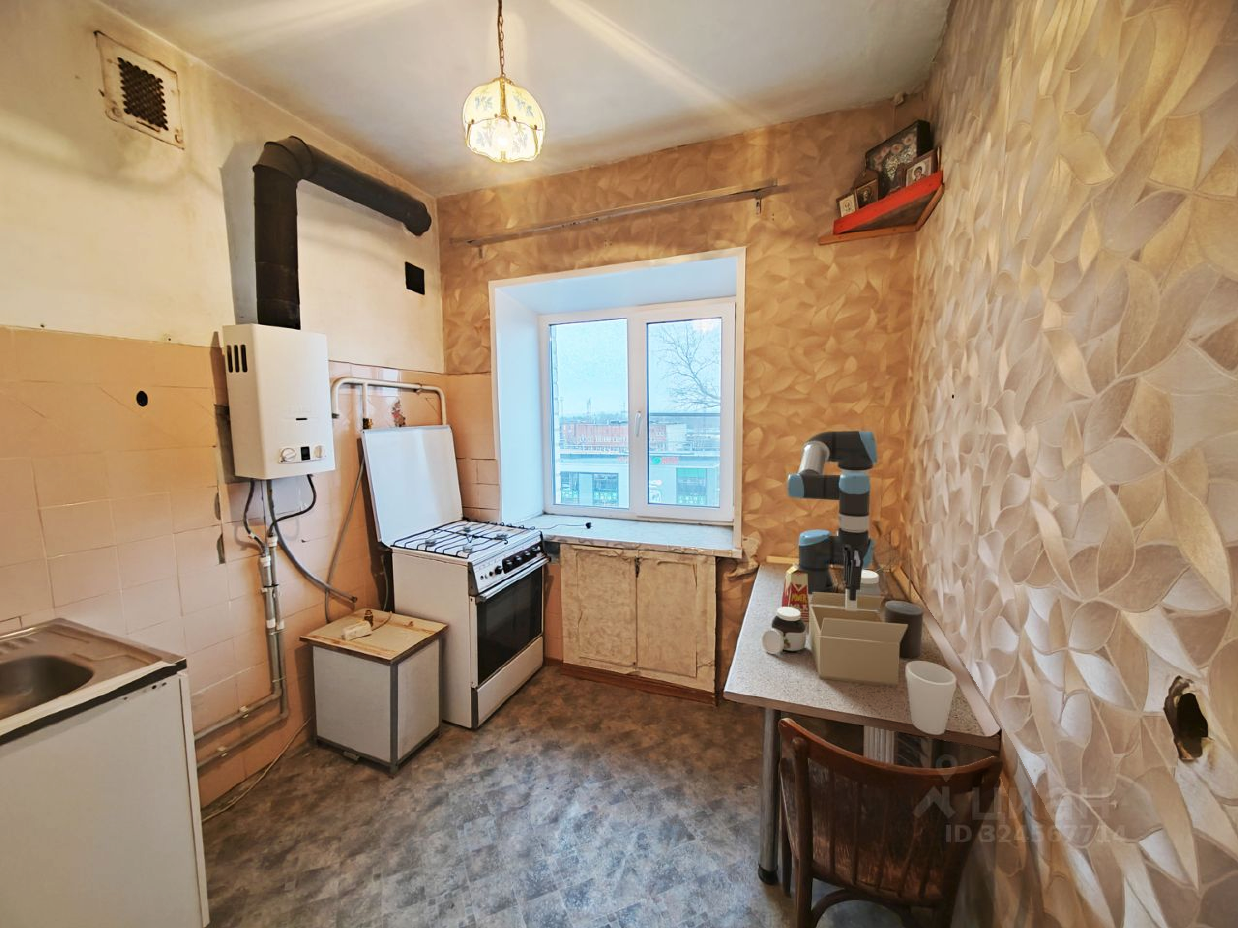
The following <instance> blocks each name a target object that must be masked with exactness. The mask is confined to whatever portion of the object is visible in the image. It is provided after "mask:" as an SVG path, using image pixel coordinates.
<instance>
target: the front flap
mask: <svg viewBox="0 0 1238 928" xmlns="http://www.w3.org/2000/svg"><path fill="white" fill-rule="evenodd" d="M907 627H908V624H896V623H884V622H871V621H859V620H847V619H835V618H824V620H823V624H822V629H821V633H820V636H826V637H837V638H848V639H859V640H870V641H881V642H892V643H900V642H901V639H902V637H903V635H904V633H905V631H906V629H907Z"/></svg>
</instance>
